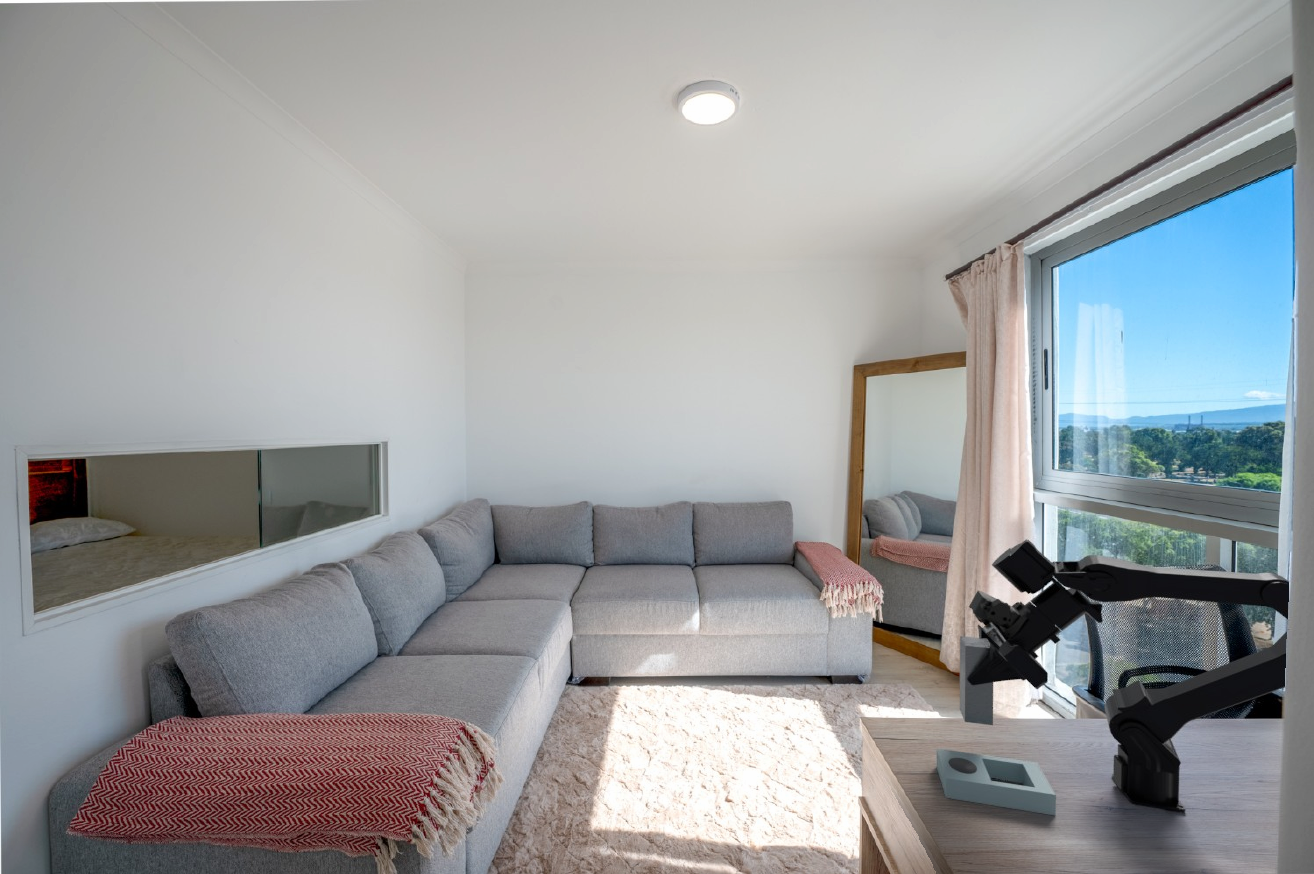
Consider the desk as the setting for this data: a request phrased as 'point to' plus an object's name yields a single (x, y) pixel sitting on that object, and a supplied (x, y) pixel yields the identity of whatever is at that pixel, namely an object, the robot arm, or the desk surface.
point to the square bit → (975, 697)
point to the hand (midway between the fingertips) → (966, 676)
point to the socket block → (972, 782)
